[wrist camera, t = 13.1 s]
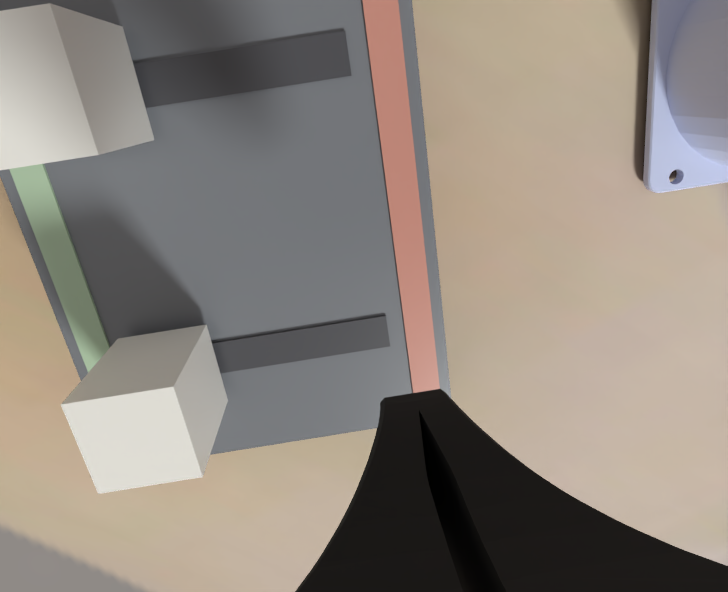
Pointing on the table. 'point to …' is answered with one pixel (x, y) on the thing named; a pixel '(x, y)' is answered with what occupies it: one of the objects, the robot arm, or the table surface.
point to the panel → (256, 210)
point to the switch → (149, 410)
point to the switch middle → (65, 87)
